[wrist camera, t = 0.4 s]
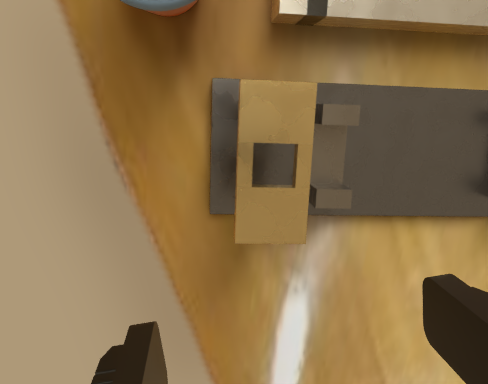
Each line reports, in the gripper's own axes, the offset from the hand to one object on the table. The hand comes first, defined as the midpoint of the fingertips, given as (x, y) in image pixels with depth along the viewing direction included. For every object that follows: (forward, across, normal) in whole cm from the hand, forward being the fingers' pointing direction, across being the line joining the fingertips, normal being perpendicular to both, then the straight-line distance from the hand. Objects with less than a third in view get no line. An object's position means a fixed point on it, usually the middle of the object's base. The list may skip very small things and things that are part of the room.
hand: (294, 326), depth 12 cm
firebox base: (+27, -14, 0) cm, 31 cm away
